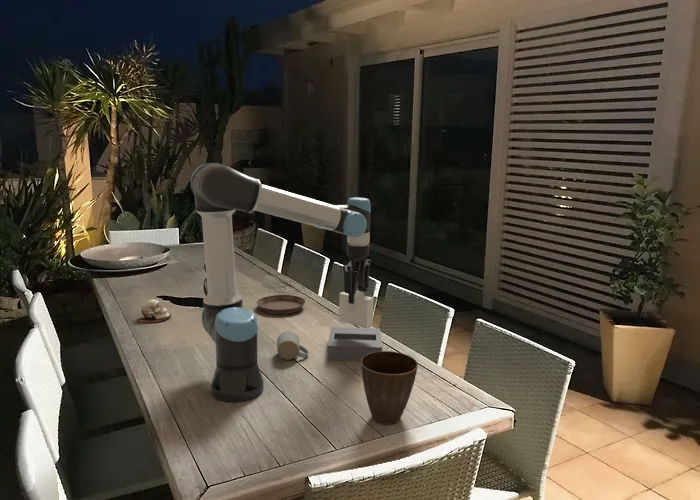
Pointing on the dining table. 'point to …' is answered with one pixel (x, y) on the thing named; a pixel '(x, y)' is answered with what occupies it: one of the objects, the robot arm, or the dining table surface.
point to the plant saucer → (281, 304)
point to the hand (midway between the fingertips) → (355, 310)
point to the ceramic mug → (290, 346)
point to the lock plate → (353, 343)
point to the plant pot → (388, 383)
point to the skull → (154, 312)
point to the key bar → (363, 310)
